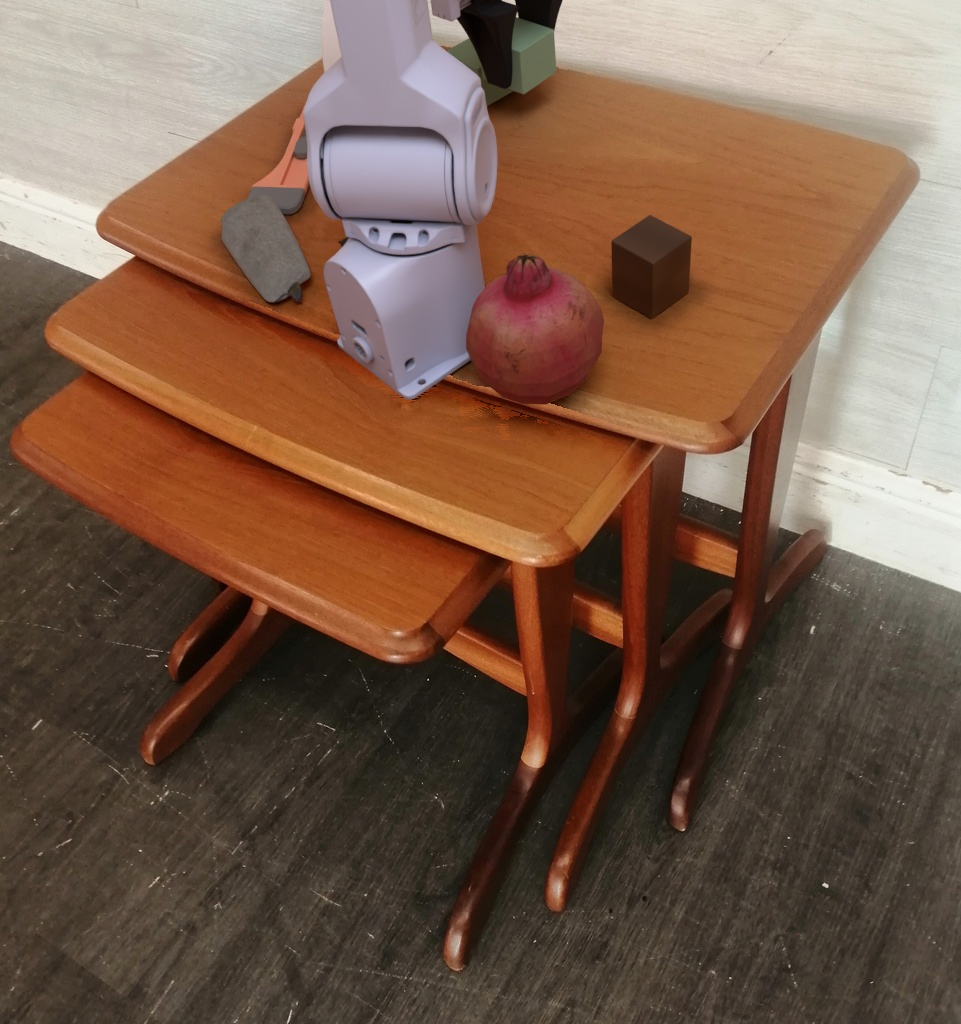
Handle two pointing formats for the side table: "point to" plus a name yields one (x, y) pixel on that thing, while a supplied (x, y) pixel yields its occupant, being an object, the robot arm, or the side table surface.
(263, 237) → the stone
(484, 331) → the fruit
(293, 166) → the utility knife
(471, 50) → the green block
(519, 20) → the sage green cube
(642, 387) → the side table surface
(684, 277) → the dark brown block
